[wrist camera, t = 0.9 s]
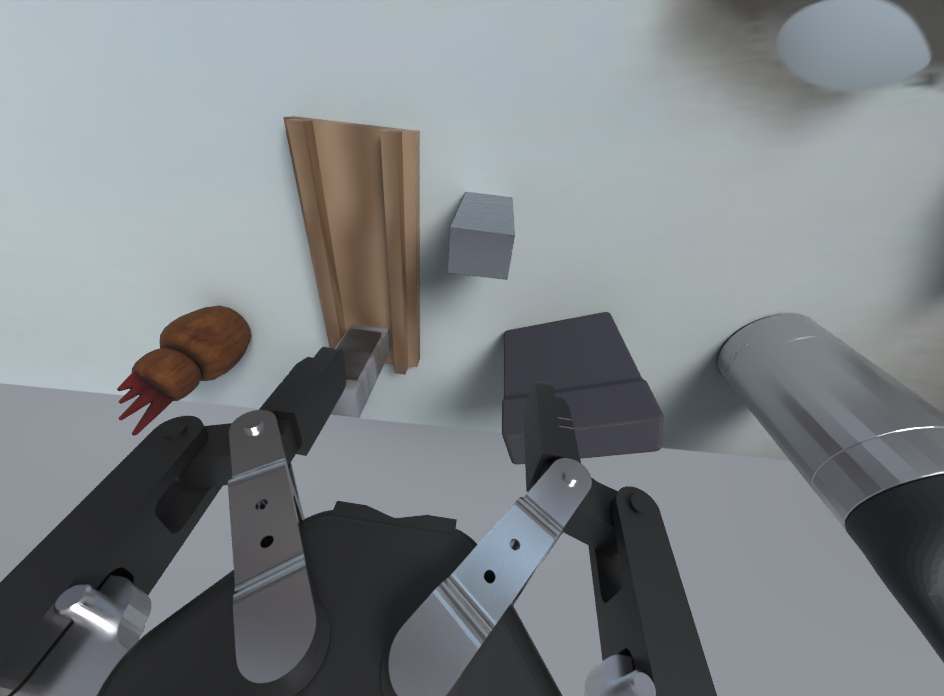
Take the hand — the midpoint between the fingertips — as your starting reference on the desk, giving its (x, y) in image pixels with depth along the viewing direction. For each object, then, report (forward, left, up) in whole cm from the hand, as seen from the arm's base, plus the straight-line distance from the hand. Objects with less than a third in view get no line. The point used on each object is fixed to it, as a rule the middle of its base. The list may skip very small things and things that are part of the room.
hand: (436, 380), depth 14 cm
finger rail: (+10, +4, -20) cm, 23 cm away
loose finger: (-1, -2, -20) cm, 20 cm away
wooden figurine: (+27, +14, -21) cm, 37 cm away
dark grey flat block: (-10, +10, -21) cm, 25 cm away
